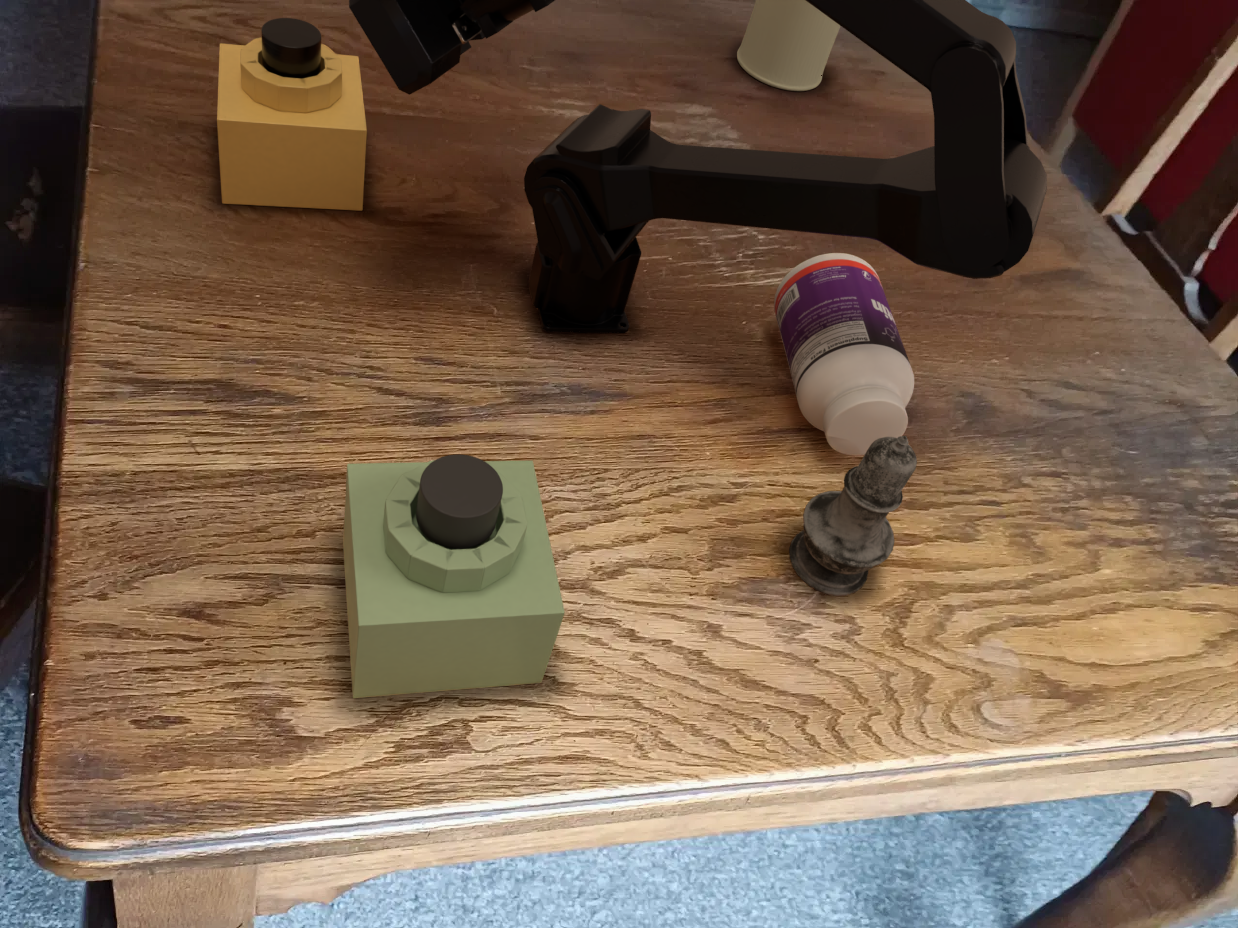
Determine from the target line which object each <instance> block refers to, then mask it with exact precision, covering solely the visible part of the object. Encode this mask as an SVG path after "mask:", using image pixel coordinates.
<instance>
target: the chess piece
mask: <svg viewBox="0 0 1238 928" xmlns="http://www.w3.org/2000/svg"><path fill="white" fill-rule="evenodd" d="M917 464H918V458H917V455H916V452H915V450H914V449H913V447H912V446H911V445H910V442H909V439H908V436H907V435H902V436H900V437H898V438H895V437H883V438H879V439H877V440H875V441H874V442H873V443H872V444H871V445H870V447H869V448H868V450H867V452H866V453H865V455H863V457H862V458H861V460H860V462H859V464H858V465H857V466H853V467H851V468H849V469H848V470H847V472H846V473H845V475H844V478H843V488H842V490H827V491H824V492H820V493H817V494H816V495H815V496H813V497H811V498H810V500H809V501H808V502H807V504H806V505H805V507H804V510H803V514H802V517H803V519H802V520H803V529H802V530H801V531H799V532H798V533H796V535H795V536H794V537H793V538H792V539H791V542H790V545H789V548H788V553H789V554H788V555H789V557H788V558H789V560H790V564H791V567H792V568H793V570H794V572H795V573H796V574H797V576H798V577H799V578H800V579H801V580H802V581H803V582H804V583H805V584H806V585H808V586H810V587H811V588H812V589H814V590H816V591H818V592H821V593H822V594H824V595H830V596H835V597H841V596H848V595H849V596H850V595H852V594H855V593H856V592H858V591H859V590H861V589H862V588H863V586H864V585H865V584H866V582H867V581H868V576H869V570H871V569H873V568H874V567H876V566H879V565H881V564H882V563H884V562H885V561H887V560H888V559H889V557H890V555H891V554H892V553H893V551H894V546H895V536H894V531H893V527H892V526H891V524H890V521H889V520H888V519H887V516H888V515H889V513H892V512H895V510H898V509H899V508H900V506H901V505H902V503H903V498H904V496H903V490H904V488H905V486H906V485H907V483H908V482H909V480H910V478H911V477H912V475H913V474H914V473H915V471H916V469H917Z"/></svg>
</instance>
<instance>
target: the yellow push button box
mask: <svg viewBox="0 0 1238 928" xmlns="http://www.w3.org/2000/svg"><path fill="white" fill-rule="evenodd" d="M218 52H219V54H218V80H217V82H218V83H217V108H216V125H217V126H216V127H217V143H218V157H219V158H218V159H219V160H218V161H219V175H220V176H219V177H220V191H221V203H222V204H223V205H245V206H262V207H263V206H264V207H279V208H280V207H283V208H302V209H321V210H338V211H339V210H341V211H359V212H362V211H363V208H364V206H363V205H364V189H365V173H366V172H365V170H366V154H367V134H368V128H367V120H366V112H365V102H364V95H363V94H364V93H363V87H362V85H363V84H362V76H361V75H362V74H361V67H360V58H359V55H350V54H349V55H348V54H339V53H336V52H334V51H333V50H332V49H331V48H330V47H329V46H328V45H326V44H324V43H321V70H320V73H319V74H318V75H317V76H312V77H308V78H303V79H299V78H288V77H281V76H279V75H276V74H273V73H271V72H268V71H267V70H266V69H265V68H264V67H263V64H262V36H261V37H257V38H253V39H252V40H250V41H249V42H248V43H247V44H245V45H243V44H241V45H240V44H231V43H219V51H218Z"/></svg>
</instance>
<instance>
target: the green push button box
mask: <svg viewBox="0 0 1238 928" xmlns="http://www.w3.org/2000/svg"><path fill="white" fill-rule="evenodd" d="M435 460H436V459H432V460H429V461H424V462H423V461H418V462H417V461H415V462H413V461H412V462H374V463H373V462H367V463H366V462H365V463H362V462H361V463H359V462H357V463H347V464H346V474H345V475H346V476H345V493H344V494H345V495H344V512H343V513H344V515H343V516H344V517H343V531H342V532H343V534H342V550H343V552H342V553H343V566H344V581H345V596H346V597H345V599H346V611H347V629H348V644H349V645H348V646H349V661H350V675H351V690H352V691H351V692H352V699H361V698H374V697H375V698H376V697H385V696H398V695H410V694H425V693H435V692H446V691H459V690H473V689H481V688H482V689H484V688H498V687H507V686H508V687H509V686H522V685H532V684H533V685H535V684H542V682H543V679H544V677H545V674H546V671H547V669H548V664H549V662H550V659H551V656H552V653H553V649H554V646H555V644H556V640H557V637H558V636H559V635H558V634H559V632H560V629H561V626H562V624H563V623H562V622H563V620H564V617H565V613H566V611H565V607H564V603H563V602H564V601H563V597H562V591H561V588H560V583H559V579H558V574H557V569H556V565H555V559H554V555H553V550H552V545H551V540H550V536H549V530H548V527H547V522H546V517H545V512H544V508H543V503H542V498H541V493H540V487H539V483H538V479H537V475H536V468H535V464H534V460H531V459H530V460H484V461H485V462H486V463H488V464H489V465H490V466H492V467H493V468H494V469H495V471H496V472H497V473H498V475H499V476H500V479H501V481H502V485H503V494H502V499H501V503H500V508H499V512H498V517H497V521H496V526H495V529H494V531H493V532H492V534H491V535H490V536H489V538H488V539H486V540H485V541H484V542H482V543H481V544H479V545H477V546H474V547H471V548H465V549H453V548H447V547H444V546H441V545H438V544H436V543H434V542H433V541H431V540H430V539H429V538H427V537H426V536H425V535H424V534H423V532H422V531H421V529H420V528H419V526H418V523H417V520H416V509H417V501H418V494H419V486H420V479H421V476H422V473H423V471H424V470H425V469H426V467H427V466H428V465H429V464H430V463H432V462H433V461H435Z"/></svg>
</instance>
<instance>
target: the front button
mask: <svg viewBox="0 0 1238 928" xmlns="http://www.w3.org/2000/svg"><path fill="white" fill-rule="evenodd" d="M434 460H435V461H433V462H432V463H430V464H429V465H428V466H427V467H426V469H425V470H424V471H423V473H422V476H421V479H420V486H419V494H418V501H417V509H416V520H417V523H418V526H419V528H420V529H421V531H422V532H423V534H424V535H425V536H426V537H427V538H429V539H430V540H431V541H433V542H434V543H436V544H438V545H441V546H444V547H447V548H453V549H465V548H471V547H474V546H477V545H479V544H481V543H482V542H484V541H485V540H486V539H488V538H489V536H490V535H491V534H492V532H493V531H494V529H495V526H496V521H497V517H498V512H499V508H500V503H501V499H502V494H503V485H502V481H501V479H500V476H499V475H498V473H497V472H496V471H495V469H494V468H493V467H492V466H490V465H489V464H488V463H486V462H485V461H486V460H483V459H481V458H479V457H476V456H473V455H469V454H460V453H459V454H457V453H456V454H448V455H443V456H441V457H439V458H436V459H434Z"/></svg>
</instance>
